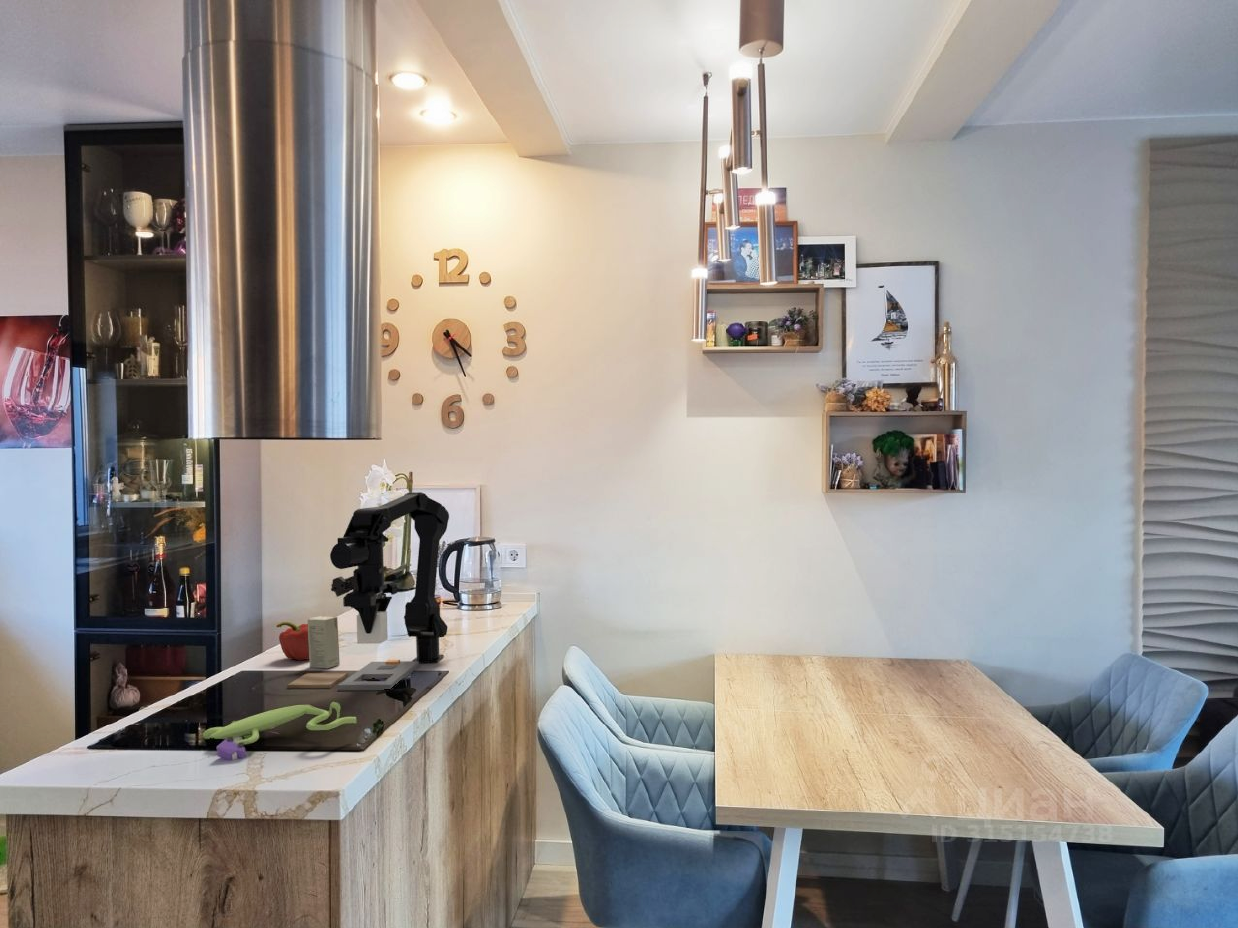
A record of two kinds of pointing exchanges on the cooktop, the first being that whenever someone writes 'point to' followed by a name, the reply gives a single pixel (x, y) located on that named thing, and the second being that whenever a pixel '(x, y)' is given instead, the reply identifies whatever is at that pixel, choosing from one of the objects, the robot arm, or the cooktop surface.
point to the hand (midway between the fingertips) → (372, 631)
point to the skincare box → (323, 642)
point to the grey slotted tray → (379, 675)
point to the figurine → (268, 727)
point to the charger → (373, 630)
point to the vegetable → (295, 641)
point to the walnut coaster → (318, 680)
